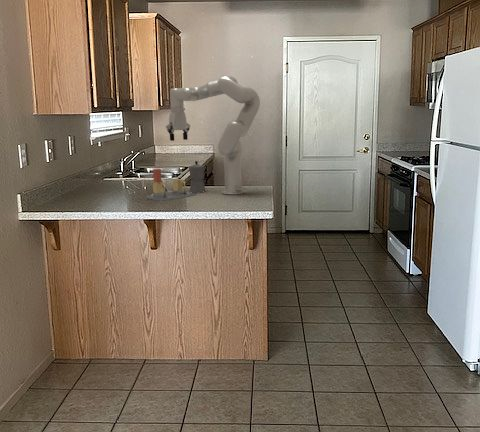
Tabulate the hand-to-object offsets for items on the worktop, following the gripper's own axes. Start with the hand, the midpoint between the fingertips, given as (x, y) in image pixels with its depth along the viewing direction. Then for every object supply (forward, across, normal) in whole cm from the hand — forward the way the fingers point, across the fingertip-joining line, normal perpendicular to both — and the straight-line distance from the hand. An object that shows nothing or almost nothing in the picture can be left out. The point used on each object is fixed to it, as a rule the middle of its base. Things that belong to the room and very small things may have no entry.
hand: (178, 140), depth 318 cm
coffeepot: (+31, -6, +8) cm, 32 cm away
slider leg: (+29, +23, +11) cm, 38 cm away
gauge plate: (+30, +16, +11) cm, 36 cm away
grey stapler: (+31, +9, -6) cm, 33 cm away
